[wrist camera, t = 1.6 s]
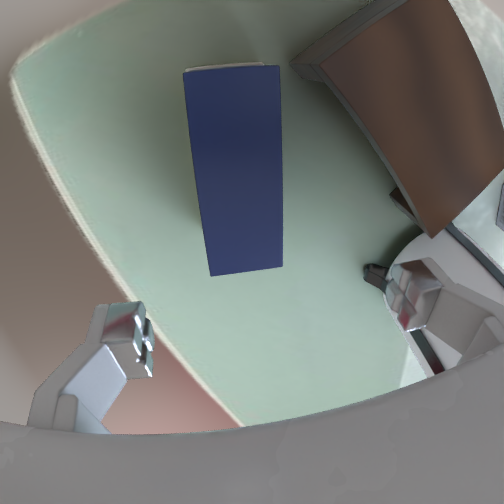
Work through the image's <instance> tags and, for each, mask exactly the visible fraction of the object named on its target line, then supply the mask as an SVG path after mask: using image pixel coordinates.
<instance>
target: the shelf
mask: <svg viewBox="0 0 504 504" xmlns="http://www.w3.org/2000/svg"><path fill="white" fill-rule="evenodd" d="M289 65H290V66H291V67H292V68H293V69H294V70H295V71H296V72H297V73H298V74H299V76H300V77H301V78H304V79H309V80H314V81H319V82H324V83H326V84H327V86H328V87H329V88H330V89H331V91H332V92H333V93H334V94H335V96H336V97H337V98H338V99H339V101H340V102H341V103H342V105H343V106H344V107H345V109H346V110H347V111H348V113H349V114H350V115H351V117H352V118H353V119H354V121H355V122H356V123H357V125H358V126H359V128H360V129H361V130H362V132H363V133H364V135H365V136H366V138H367V139H368V141H369V142H370V143H371V145H372V146H373V148H374V149H375V151H376V152H377V154H378V155H379V157H380V159H381V160H382V162H383V163H384V165H385V166H386V168H387V169H388V171H389V173H390V174H391V176H392V178H393V179H394V181H395V182H396V184H397V186H398V188H396V189H395V190H394V191H393V192H392V193H391V194H390V197H391V199H392V200H393V202H394V203H395V205H396V206H397V207H398V208H399V209H400V210H401V211H403V212H404V213H405V214H406V215H407V216H408V217H409V218H410V219H411V220H412V221H413V222H414V223H415V224H416V225H417V226H418V227H420V228H421V229H422V230H423V231H424V232H425V233H426V234H427V235H428V236H429V237H430V238H431V239H433V238H434V237H435V236H436V235H437V234H438V233H439V232H441V231H442V230H443V229H444V228H445V227H446V226H447V225H448V224H449V223H450V222H451V221H452V220H453V219H455V218H456V217H457V216H458V215H459V214H460V213H461V212H462V211H463V210H464V209H465V208H466V207H467V206H468V205H469V204H470V203H471V202H472V201H473V200H474V199H475V198H476V197H477V196H478V195H479V194H480V193H481V192H482V191H483V190H484V189H485V188H486V187H487V186H488V185H489V184H490V183H491V182H492V180H493V179H494V178H495V177H496V176H497V175H498V174H499V173H500V172H501V171H502V170H503V169H504V129H503V125H502V122H501V119H500V115H499V112H498V109H497V106H496V103H495V100H494V97H493V94H492V92H491V89H490V86H489V83H488V81H487V78H486V76H485V73H484V71H483V68H482V66H481V64H480V61H479V59H478V57H477V55H476V52H475V50H474V48H473V46H472V44H471V42H470V40H469V38H468V36H467V34H466V32H465V30H464V28H463V26H462V24H461V22H460V20H459V18H458V17H457V15H456V13H455V11H454V10H453V8H452V6H451V4H450V3H449V1H448V0H375V1H373V2H372V3H370V4H368V5H367V6H365V7H364V8H362V9H361V10H359V11H358V12H356V13H355V14H354V15H352V16H351V17H349V18H348V19H346V20H345V21H343V22H342V23H341V24H339V25H338V26H336V27H335V28H334V29H332V30H331V31H330V32H328V33H327V34H326V35H324V36H323V37H322V38H320V39H319V40H318V41H316V42H315V43H314V44H312V45H311V46H310V47H308V48H307V49H306V50H305V51H303V52H302V53H301V54H300V55H298V56H297V57H296V58H295V59H293V60H292V61H291V62H290V63H289Z"/></svg>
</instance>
